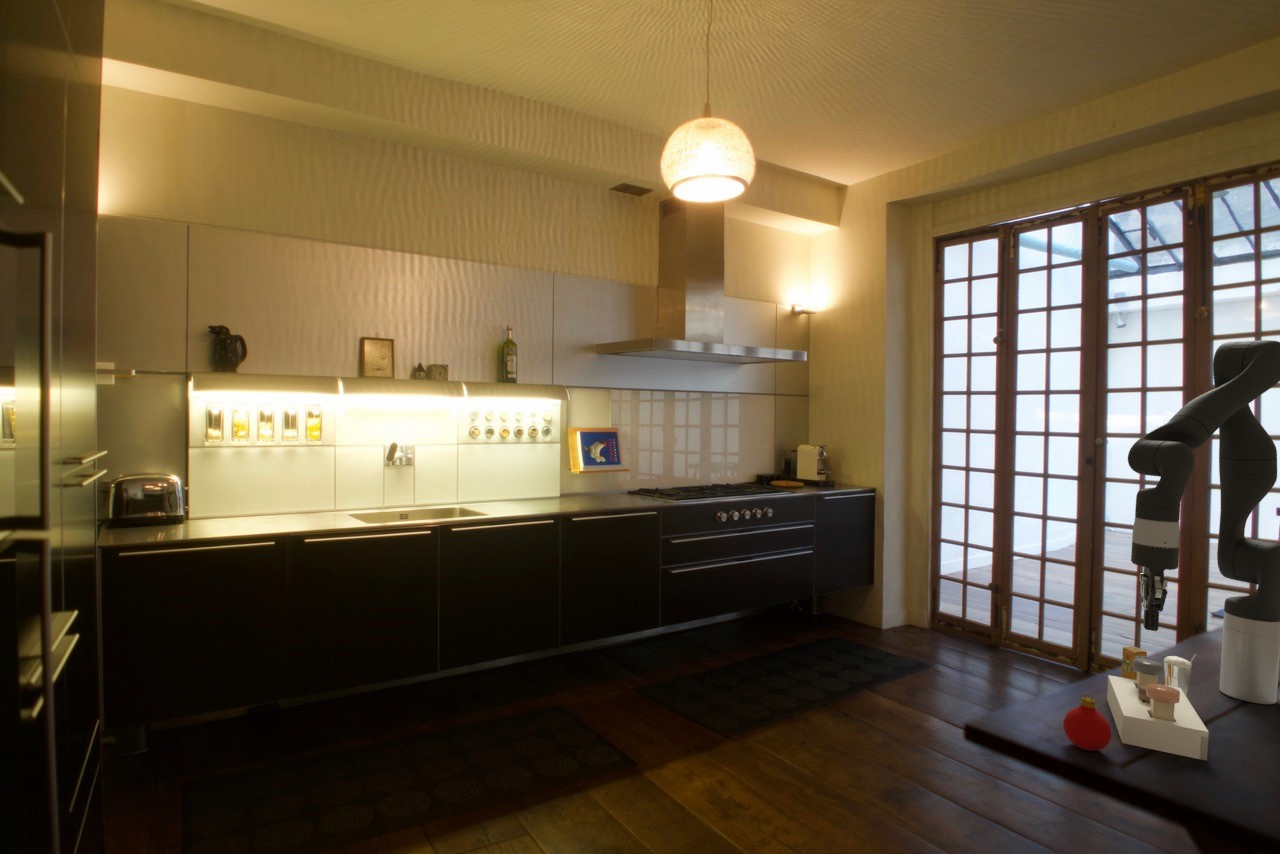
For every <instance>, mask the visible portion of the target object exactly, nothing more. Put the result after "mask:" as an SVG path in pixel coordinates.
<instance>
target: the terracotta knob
mask: <svg viewBox="0 0 1280 854" xmlns="http://www.w3.org/2000/svg"><path fill="white" fill-rule="evenodd" d="M1146 695H1147V696H1148V697H1150V714H1149V716H1150V717H1151V718H1156V719H1161V720H1166V721H1171V722H1174V706H1175V703H1179V700H1180V692H1179V691H1178V690H1177V689H1175V688H1172V687H1169V686H1166V685H1165V684H1160V683H1158V684H1147V685H1146Z"/></svg>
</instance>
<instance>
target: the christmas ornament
mask: <svg viewBox="0 0 1280 854" xmlns="http://www.w3.org/2000/svg"><path fill="white" fill-rule="evenodd" d="M1089 693H1090V694H1091V696H1092V697H1086V695H1087V694H1089ZM1096 708H1097V707H1096V700H1095V699H1094V694H1093V692H1091V691H1086V692H1085V693H1084V694H1083V696H1081V703H1080V705H1078V706H1077V707H1074V708H1071V709H1070V710H1069V711H1068V712H1066V714H1065V716H1064V718H1063V724H1062V725H1063V730H1064V733H1065V735H1066V737H1067V738H1068V740H1069V741H1070V742H1071V743H1072V744H1073V745H1075V746H1076V747H1077V748H1079V749H1082V750H1084V751H1091V752H1095V751H1099V750H1100V751H1101V750H1102V749H1104V748H1106V747H1107V746H1108V745H1109V743H1110V741H1111V739H1112V728H1111V726H1110V723H1109V721H1108V720H1107V718H1106V717H1105V715H1103V714H1102V713H1101V712H1100V711H1099V710H1097V709H1096Z"/></svg>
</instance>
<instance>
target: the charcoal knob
mask: <svg viewBox="0 0 1280 854" xmlns="http://www.w3.org/2000/svg"><path fill="white" fill-rule="evenodd" d="M1133 669H1134V670H1136V671H1137V679H1136V688H1137V689H1139V687H1140V686H1146V685H1147V684H1159V676H1163V675H1164V674H1163V673H1164V664H1162V663H1160V662H1158V661H1155V660H1152V659H1141V658H1136V659H1133Z"/></svg>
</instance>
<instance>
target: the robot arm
mask: <svg viewBox="0 0 1280 854" xmlns="http://www.w3.org/2000/svg"><path fill="white" fill-rule="evenodd" d="M1213 355H1214V356H1213V360H1212V361H1213V362H1212V375H1213V382H1214V389H1211V390H1209V391H1206V392H1205V393H1202V394H1201V395H1198V396H1197V397H1195V398H1193V399H1192V400H1190V401H1188V402H1187V403H1186V404H1185V405H1184V406H1182V407H1181V408H1180V409H1179V410H1178V411H1177V412H1176V413H1175V414H1174V415H1173V416H1172V417H1171V418H1170V419H1169V420H1168V422H1166V423H1165V424H1163V425H1160V426H1159V427H1156V428H1155V429H1153V430H1152V431H1150V432H1148V433H1146V434H1145V435H1143V436H1142V437H1140V438H1139V439H1137V440H1136V441H1135V442H1134V443H1133V445H1132V446H1131V448H1129V451H1128V455H1127V462H1128V466H1129V467H1130V469H1131V470H1132V471H1133V472H1135V473H1137V474H1139V475H1143V476H1150V477H1152V476H1153V477H1159V478H1160V479H1159V481H1158V482H1157V484H1156V486H1155V487H1146V488H1141V489H1140V490H1138V491H1137V493H1136V495H1135V496H1136V498H1135V513H1134V523H1133V526H1132V539H1131V555H1130V557H1131V558H1130V561H1131V563H1132V564H1133V565H1135V566H1138V567H1143V573H1142V572H1140V573H1139V581H1140V583H1139V584H1140V595H1141V599H1140V600H1141V603H1142V609H1143V624H1142V625H1143V627H1144V629H1145V630H1147V631H1151V632H1152V631H1153V632H1157V631H1159V621H1160V613H1161V612H1163V610H1164V606H1165V602H1166V599H1167V595H1168V594H1169V593H1168V589H1167V588H1168V583H1169V581H1168V578H1166V576H1165V571H1166V570H1169V571H1172V570H1176V569H1178V567H1179V563H1180V562H1179V561H1180V545H1181V529H1180V528H1181V527H1180V517H1181V515H1180V514H1181V502H1182V498H1183V496H1184V492H1185V490H1186V487H1187V485H1188V483H1189V480H1190V478H1191V475H1192V473H1193V471H1194V468H1195V456H1194V455H1195V454H1194V452H1193V451H1192V450H1196V449H1198V448H1200V447H1202V446H1203V445H1204V444H1205V443H1206V442H1207V440H1209V439H1210V437H1211V436H1213V434H1214V433H1215V432H1216V431H1218V433H1219V434H1218V437H1219V443H1218V445H1219V446H1218V447H1219V448H1218V471H1219V472H1218V473H1219V488H1220V514H1219V530H1218V538H1217V552H1216V555H1217V556H1216V557H1217V567H1218V570H1219V573H1220V575H1222V576H1223V578H1226V579H1229V580H1233V581H1237V582H1243V583H1248V584H1253V585H1257V586H1258V587H1257V590H1256V592H1255V593H1253V594H1250V595H1239V596H1230V597H1227V598H1226V599H1225V601H1224V606H1223V610H1224V611H1223V623H1222V624H1223V625H1222V627H1223V628H1222V640H1221V656H1220V671H1219V688H1218V689H1219V691H1220V692H1222V693H1223V694H1225V695H1226V696H1228V697H1231V698H1234V699H1236V700H1240V701H1244V702H1249V703H1254V704H1258V705H1259V704H1260V705H1274V704H1276V703H1277V699H1278V684H1279V671H1280V670H1279V669H1280V543H1277V542H1270V541H1264V540H1258V539H1252V538H1246V536H1245V530H1246V525H1247V521H1248V518H1249V517H1250V515H1251V513H1252V512H1253V510H1254V509H1255V508H1256V507H1257V506H1258V504H1259V503H1261V502H1262V500H1263V499H1264V498H1265V497H1267V495H1268V494H1269V493H1270V492H1271V490H1272V489H1273V487H1275V484H1276V482H1277V479H1278V451H1277V447H1276V444H1275V441H1273V439H1272V438H1271V436H1270V435H1269V433H1268V432H1267V430H1266V429H1265V428H1264V426H1263V425H1262V424H1261V423H1260V422H1259V420H1258V419H1257V418H1256V416H1255V414H1254V413H1253V412H1252V409H1251V407H1250V403H1252V402H1253V401H1254V400H1256V399H1257V398H1259V397H1260V396H1262V395H1263V394H1264V393H1266V392H1267V391H1269V390H1270V389H1272V388H1273V387H1275V386H1276V385H1277V384H1278V383H1280V341H1278V340H1271V339H1270V340H1268V339H1266V340H1265V339H1263V340H1262V339H1261V340H1240V341H1238V340H1237V341H1227V342H1225V343H1221V345H1220V346H1218V347H1217V349H1216V350H1215V353H1214V354H1213Z"/></svg>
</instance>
